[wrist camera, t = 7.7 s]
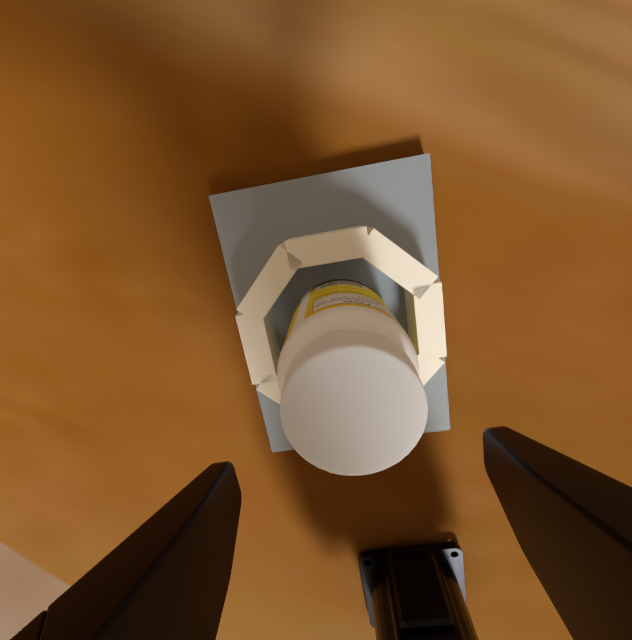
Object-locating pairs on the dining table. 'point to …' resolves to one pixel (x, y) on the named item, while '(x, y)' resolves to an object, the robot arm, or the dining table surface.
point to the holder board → (335, 264)
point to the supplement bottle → (349, 381)
